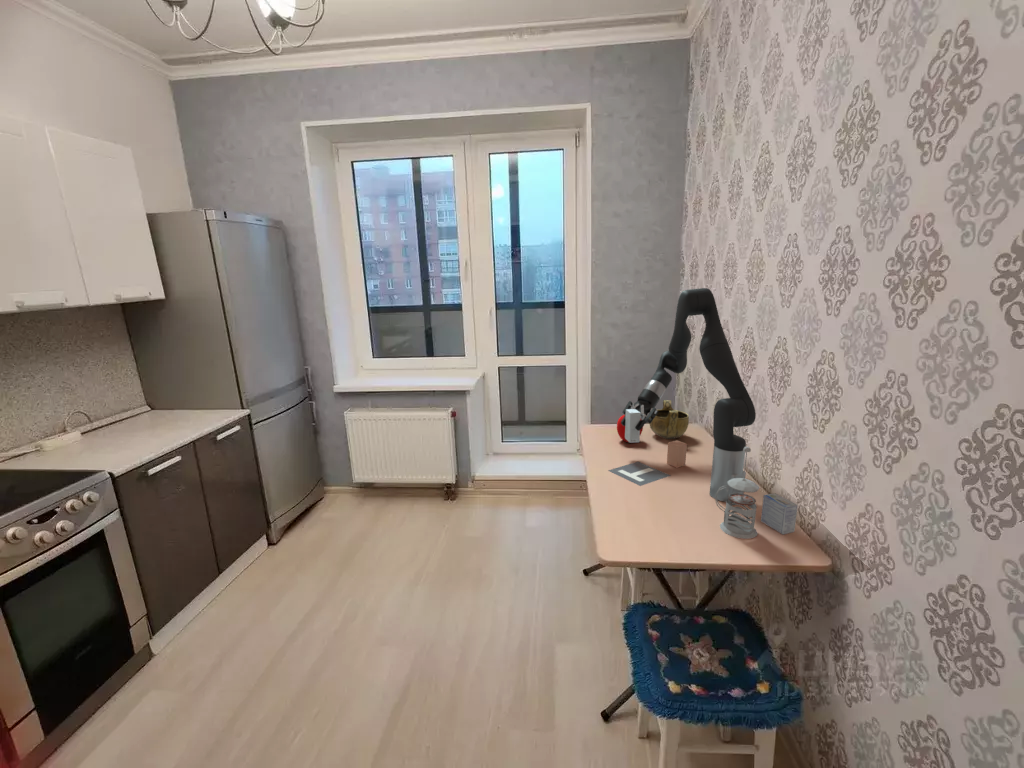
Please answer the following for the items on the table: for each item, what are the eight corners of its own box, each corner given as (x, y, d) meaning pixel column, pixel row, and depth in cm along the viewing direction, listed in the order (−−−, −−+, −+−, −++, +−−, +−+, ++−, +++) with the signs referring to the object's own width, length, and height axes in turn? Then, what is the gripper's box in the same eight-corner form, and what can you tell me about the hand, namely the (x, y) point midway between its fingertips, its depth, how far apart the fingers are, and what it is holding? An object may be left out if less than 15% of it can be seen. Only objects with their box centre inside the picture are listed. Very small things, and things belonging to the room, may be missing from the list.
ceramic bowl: (691, 446, 199) (694, 412, 196) (650, 444, 203) (652, 410, 199) (682, 430, 221) (685, 399, 218) (645, 428, 224) (647, 398, 221)
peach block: (685, 466, 179) (687, 443, 177) (676, 468, 176) (678, 446, 174) (675, 462, 183) (676, 440, 181) (666, 464, 180) (668, 442, 178)
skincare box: (640, 442, 181) (641, 412, 179) (629, 443, 181) (630, 413, 178) (634, 437, 187) (635, 408, 185) (624, 438, 187) (625, 409, 184)
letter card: (671, 476, 169) (671, 475, 169) (640, 487, 161) (640, 485, 161) (637, 462, 183) (637, 461, 182) (607, 471, 174) (607, 470, 174)
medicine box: (794, 532, 132) (798, 504, 130) (782, 535, 130) (785, 506, 128) (772, 519, 139) (775, 492, 137) (760, 521, 138) (763, 494, 136)
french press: (756, 542, 127) (767, 455, 121) (711, 531, 133) (718, 448, 127) (758, 525, 135) (768, 444, 130) (715, 516, 141) (722, 437, 135)
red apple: (619, 446, 201) (620, 417, 198) (613, 437, 211) (615, 410, 208) (645, 445, 201) (647, 417, 198) (638, 437, 211) (640, 410, 208)
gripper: (633, 385, 190) (611, 417, 186) (661, 391, 178) (639, 426, 174) (642, 396, 193) (621, 427, 190) (670, 402, 181) (648, 437, 178)
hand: (629, 426), depth 182 cm, fingers closed on skincare box, 7 cm apart
